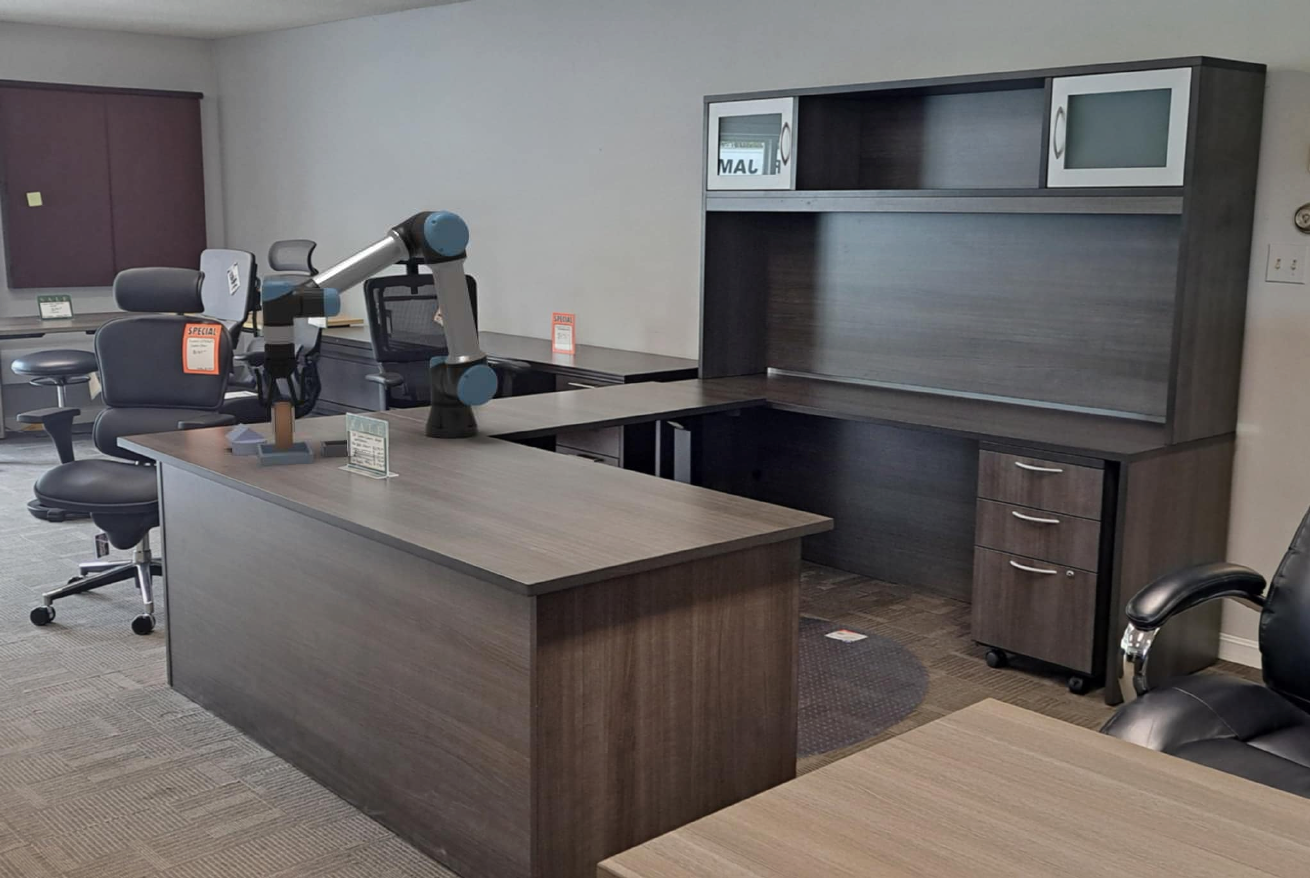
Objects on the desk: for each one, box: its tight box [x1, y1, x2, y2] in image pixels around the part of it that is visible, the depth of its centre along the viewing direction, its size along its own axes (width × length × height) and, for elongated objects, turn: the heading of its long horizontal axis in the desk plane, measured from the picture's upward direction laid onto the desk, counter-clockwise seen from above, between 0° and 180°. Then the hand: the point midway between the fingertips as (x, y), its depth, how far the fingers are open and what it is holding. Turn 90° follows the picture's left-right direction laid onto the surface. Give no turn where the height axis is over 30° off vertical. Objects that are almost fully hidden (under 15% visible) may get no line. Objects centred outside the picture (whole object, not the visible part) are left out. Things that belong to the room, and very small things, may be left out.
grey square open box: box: [320, 439, 348, 459], centre depth 323 cm, size 8×8×4 cm
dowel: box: [272, 401, 294, 451], centre depth 316 cm, size 4×4×12 cm
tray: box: [256, 441, 315, 468], centre depth 317 cm, size 13×18×3 cm
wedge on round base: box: [224, 423, 268, 456], centre depth 330 cm, size 9×7×13 cm
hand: (283, 432), depth 316 cm, fingers closed on dowel, 4 cm apart
